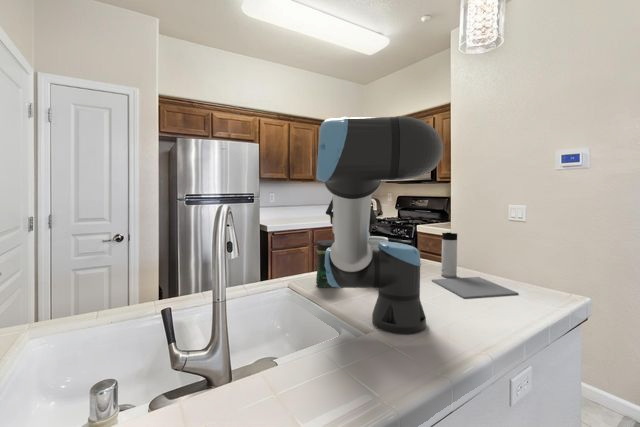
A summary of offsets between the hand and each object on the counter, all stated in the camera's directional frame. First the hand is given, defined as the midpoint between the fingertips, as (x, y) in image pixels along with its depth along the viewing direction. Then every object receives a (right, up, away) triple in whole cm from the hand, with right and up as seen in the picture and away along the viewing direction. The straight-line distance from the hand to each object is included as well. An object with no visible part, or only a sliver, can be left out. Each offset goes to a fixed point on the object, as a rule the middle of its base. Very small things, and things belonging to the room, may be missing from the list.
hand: (350, 235), depth 120 cm
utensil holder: (+11, -20, +20) cm, 31 cm away
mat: (+48, -21, +4) cm, 53 cm away
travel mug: (+46, -20, +20) cm, 54 cm away
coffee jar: (-8, -21, +9) cm, 25 cm away
